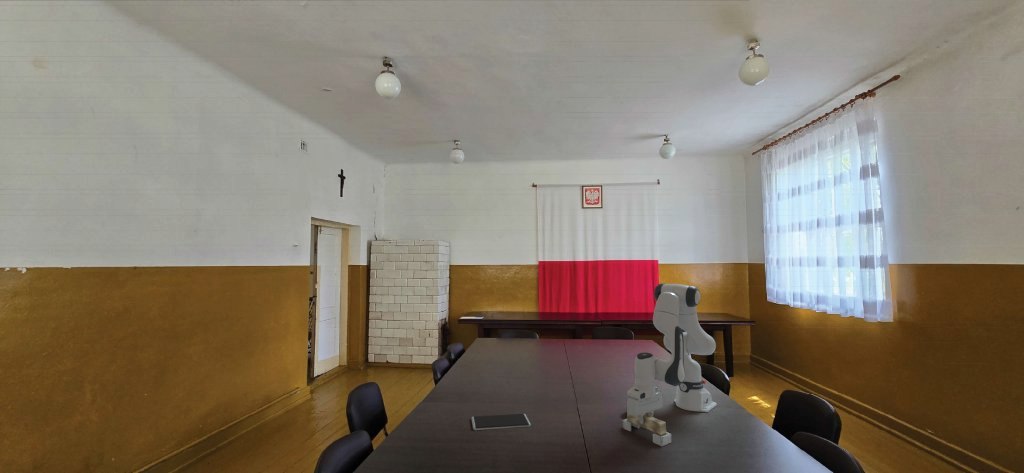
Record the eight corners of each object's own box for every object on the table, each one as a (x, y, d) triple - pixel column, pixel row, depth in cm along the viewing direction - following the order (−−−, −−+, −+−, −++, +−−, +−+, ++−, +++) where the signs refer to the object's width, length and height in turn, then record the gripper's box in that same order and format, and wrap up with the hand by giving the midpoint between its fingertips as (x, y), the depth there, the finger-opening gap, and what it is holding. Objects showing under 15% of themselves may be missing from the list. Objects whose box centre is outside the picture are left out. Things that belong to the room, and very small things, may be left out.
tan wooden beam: (627, 420, 177) (627, 410, 177) (632, 418, 179) (632, 408, 179) (660, 435, 162) (660, 424, 162) (666, 433, 164) (665, 422, 164)
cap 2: (652, 442, 164) (652, 433, 164) (662, 438, 167) (662, 430, 167) (661, 446, 160) (661, 437, 160) (671, 442, 163) (671, 434, 164)
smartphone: (531, 427, 179) (531, 424, 179) (473, 431, 174) (473, 427, 174) (525, 416, 192) (525, 413, 192) (471, 419, 187) (471, 416, 188)
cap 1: (639, 428, 177) (639, 420, 178) (629, 431, 174) (629, 423, 174) (631, 424, 181) (631, 417, 181) (622, 427, 178) (622, 420, 178)
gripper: (654, 384, 180) (654, 414, 179) (624, 392, 169) (624, 424, 168) (665, 388, 175) (666, 419, 174) (636, 396, 164) (636, 429, 163)
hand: (645, 422), depth 171 cm, fingers closed on tan wooden beam, 3 cm apart
